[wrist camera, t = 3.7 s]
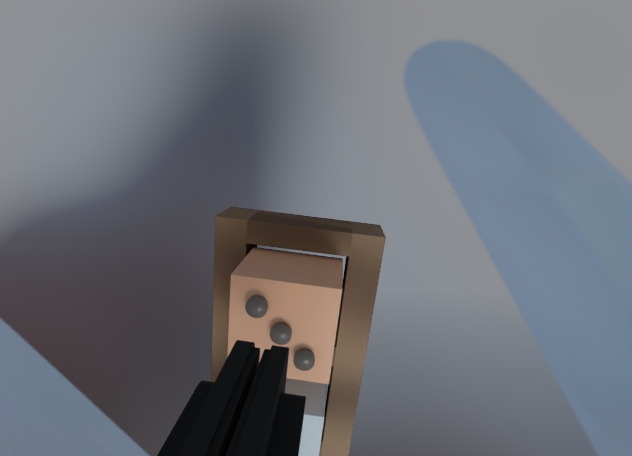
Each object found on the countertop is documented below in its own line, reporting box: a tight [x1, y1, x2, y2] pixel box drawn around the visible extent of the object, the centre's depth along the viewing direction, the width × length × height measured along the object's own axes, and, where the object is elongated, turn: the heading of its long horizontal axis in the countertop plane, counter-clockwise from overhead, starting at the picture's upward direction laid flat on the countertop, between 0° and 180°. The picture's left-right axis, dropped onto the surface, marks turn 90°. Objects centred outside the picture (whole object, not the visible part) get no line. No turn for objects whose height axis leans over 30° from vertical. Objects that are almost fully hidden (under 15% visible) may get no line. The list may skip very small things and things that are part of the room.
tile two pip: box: [285, 378, 327, 456], centre depth 17 cm, size 5×5×4 cm
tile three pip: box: [227, 247, 342, 384], centre depth 16 cm, size 5×5×4 cm
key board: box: [211, 207, 385, 456], centre depth 20 cm, size 20×8×2 cm, turn 174°
